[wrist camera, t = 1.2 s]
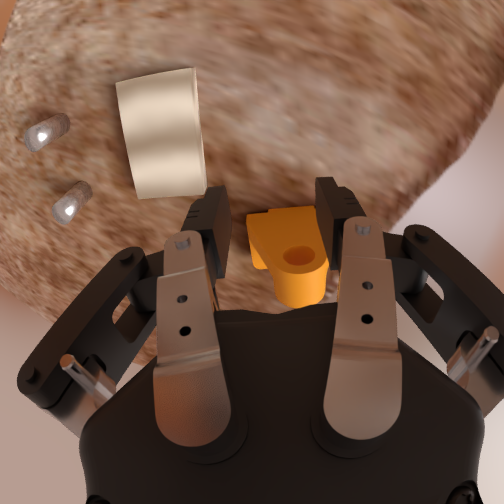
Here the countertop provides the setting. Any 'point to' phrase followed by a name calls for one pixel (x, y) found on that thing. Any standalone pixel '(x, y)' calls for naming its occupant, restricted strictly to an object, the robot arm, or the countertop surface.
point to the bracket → (290, 253)
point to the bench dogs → (41, 137)
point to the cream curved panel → (163, 133)
